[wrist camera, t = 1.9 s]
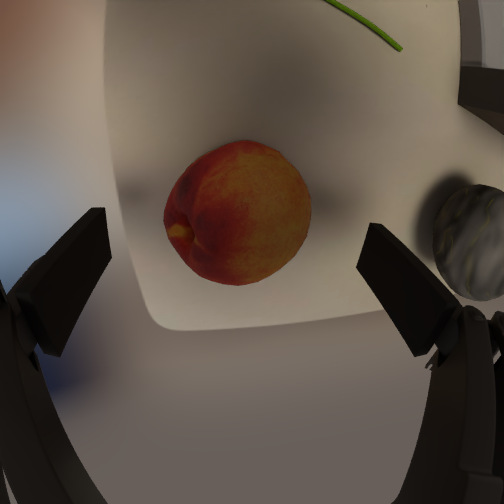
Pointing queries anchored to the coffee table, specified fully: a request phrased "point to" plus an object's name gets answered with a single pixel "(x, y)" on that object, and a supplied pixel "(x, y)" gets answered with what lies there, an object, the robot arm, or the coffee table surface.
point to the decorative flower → (366, 23)
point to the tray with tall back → (483, 60)
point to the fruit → (238, 213)
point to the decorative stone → (471, 242)
